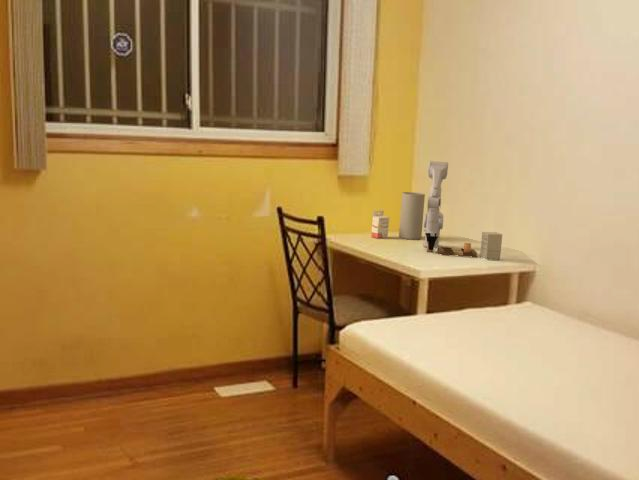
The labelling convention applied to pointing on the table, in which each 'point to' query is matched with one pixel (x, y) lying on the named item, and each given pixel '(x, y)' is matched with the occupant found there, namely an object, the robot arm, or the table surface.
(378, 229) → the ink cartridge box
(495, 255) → the supplement box
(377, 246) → the table surface
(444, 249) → the wooden grid frame
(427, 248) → the loose pin
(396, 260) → the table surface
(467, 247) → the pin
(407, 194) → the cylinder vase
